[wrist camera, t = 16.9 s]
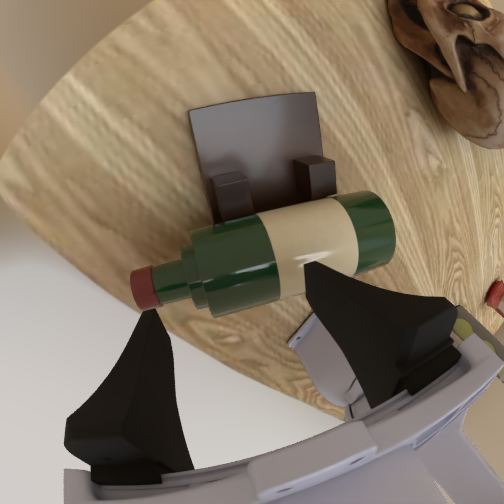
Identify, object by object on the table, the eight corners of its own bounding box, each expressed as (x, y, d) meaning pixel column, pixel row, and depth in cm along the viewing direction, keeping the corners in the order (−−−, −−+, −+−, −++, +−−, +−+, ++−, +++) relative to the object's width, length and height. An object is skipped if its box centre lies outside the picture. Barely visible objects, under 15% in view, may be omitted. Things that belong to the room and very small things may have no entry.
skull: (392, -41, 11) (500, -50, 1) (468, 57, 20) (551, 79, 9) (346, 51, 17) (498, 60, 6) (438, 145, 26) (531, 189, 15)
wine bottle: (351, 180, 19) (400, 206, 15) (350, 244, 22) (390, 281, 17) (127, 232, 17) (112, 280, 12) (154, 297, 20) (152, 353, 15)
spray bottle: (463, 304, 40) (529, 366, 23) (451, 324, 42) (512, 387, 25) (454, 304, 39) (524, 373, 22) (441, 326, 41) (506, 395, 24)
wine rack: (324, 271, 26) (343, 291, 23) (232, 300, 24) (242, 325, 21) (309, 92, 18) (333, 89, 15) (187, 111, 16) (190, 108, 13)
